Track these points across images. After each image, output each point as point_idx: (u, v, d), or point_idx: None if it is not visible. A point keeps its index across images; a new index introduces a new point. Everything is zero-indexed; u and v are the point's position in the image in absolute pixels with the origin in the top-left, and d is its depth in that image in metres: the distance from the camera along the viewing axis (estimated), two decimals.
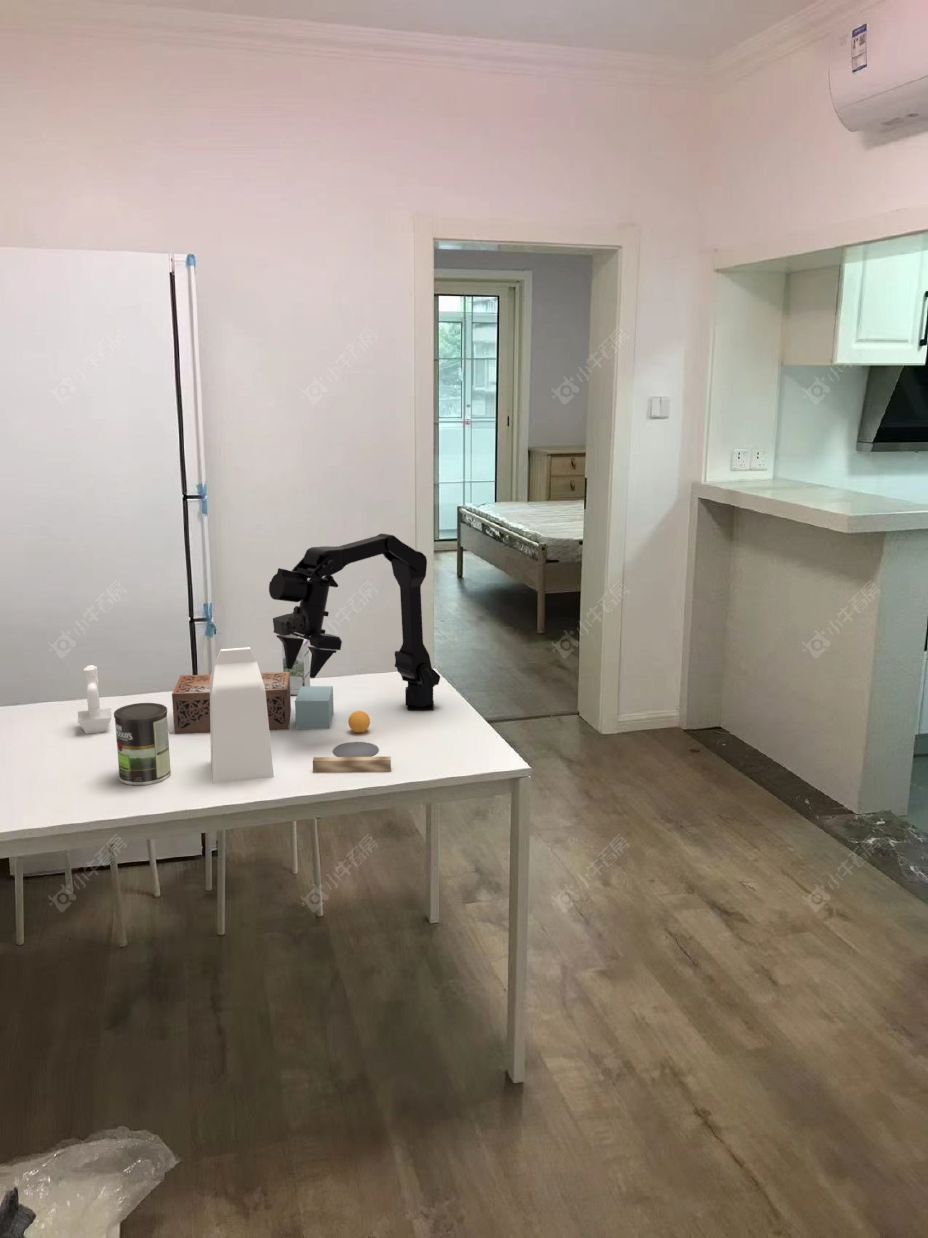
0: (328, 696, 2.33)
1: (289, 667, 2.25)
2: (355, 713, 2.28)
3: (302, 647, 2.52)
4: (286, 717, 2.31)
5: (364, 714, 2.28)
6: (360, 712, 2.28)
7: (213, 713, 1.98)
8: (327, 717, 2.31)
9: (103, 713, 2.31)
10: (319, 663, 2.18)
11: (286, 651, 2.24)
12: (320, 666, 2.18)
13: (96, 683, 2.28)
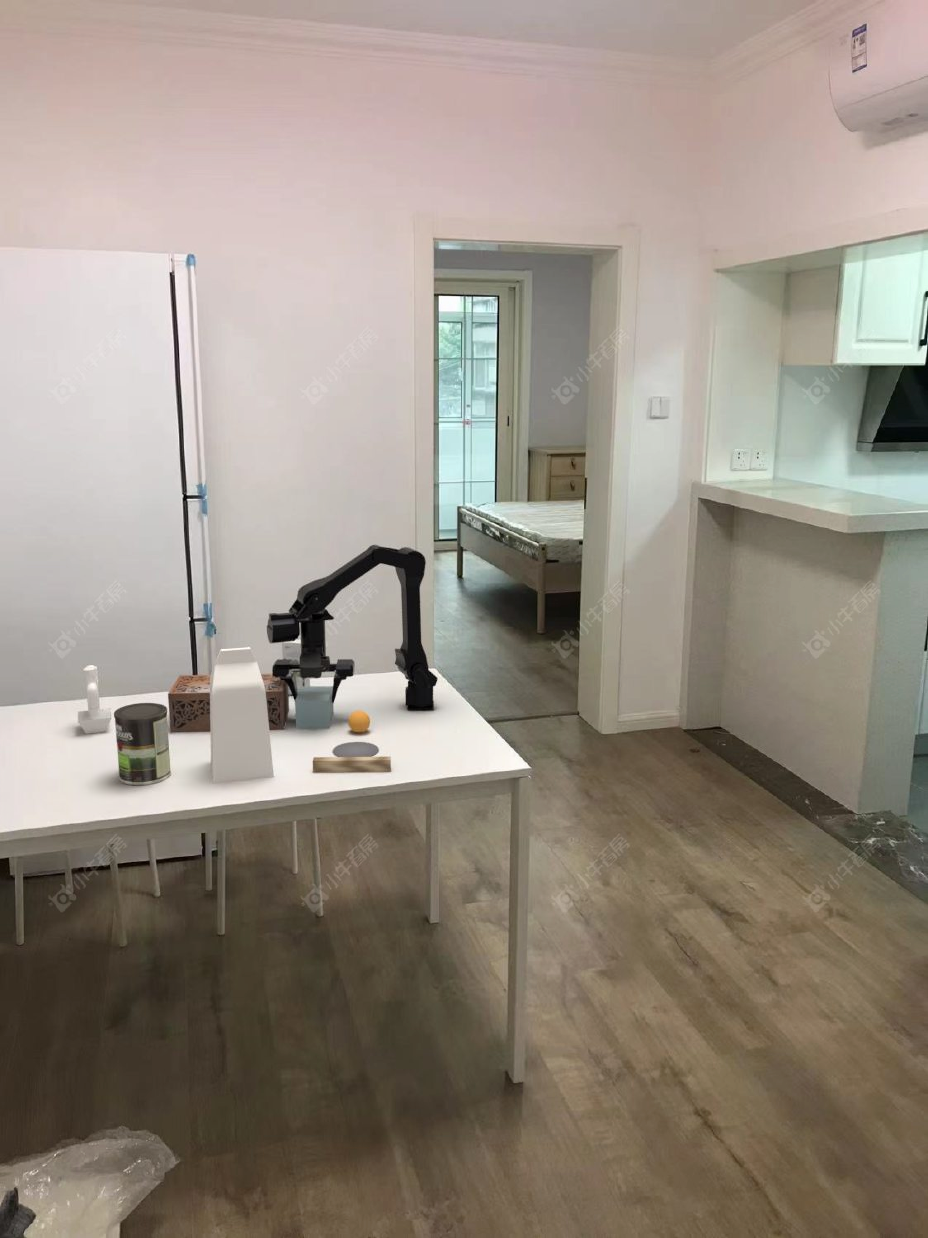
0: (328, 696, 2.33)
1: None
2: (355, 713, 2.28)
3: None
4: (281, 718, 2.31)
5: (364, 714, 2.28)
6: (360, 712, 2.28)
7: (213, 713, 1.98)
8: (327, 717, 2.31)
9: (103, 713, 2.31)
10: None
11: (293, 688, 2.34)
12: None
13: (96, 683, 2.28)
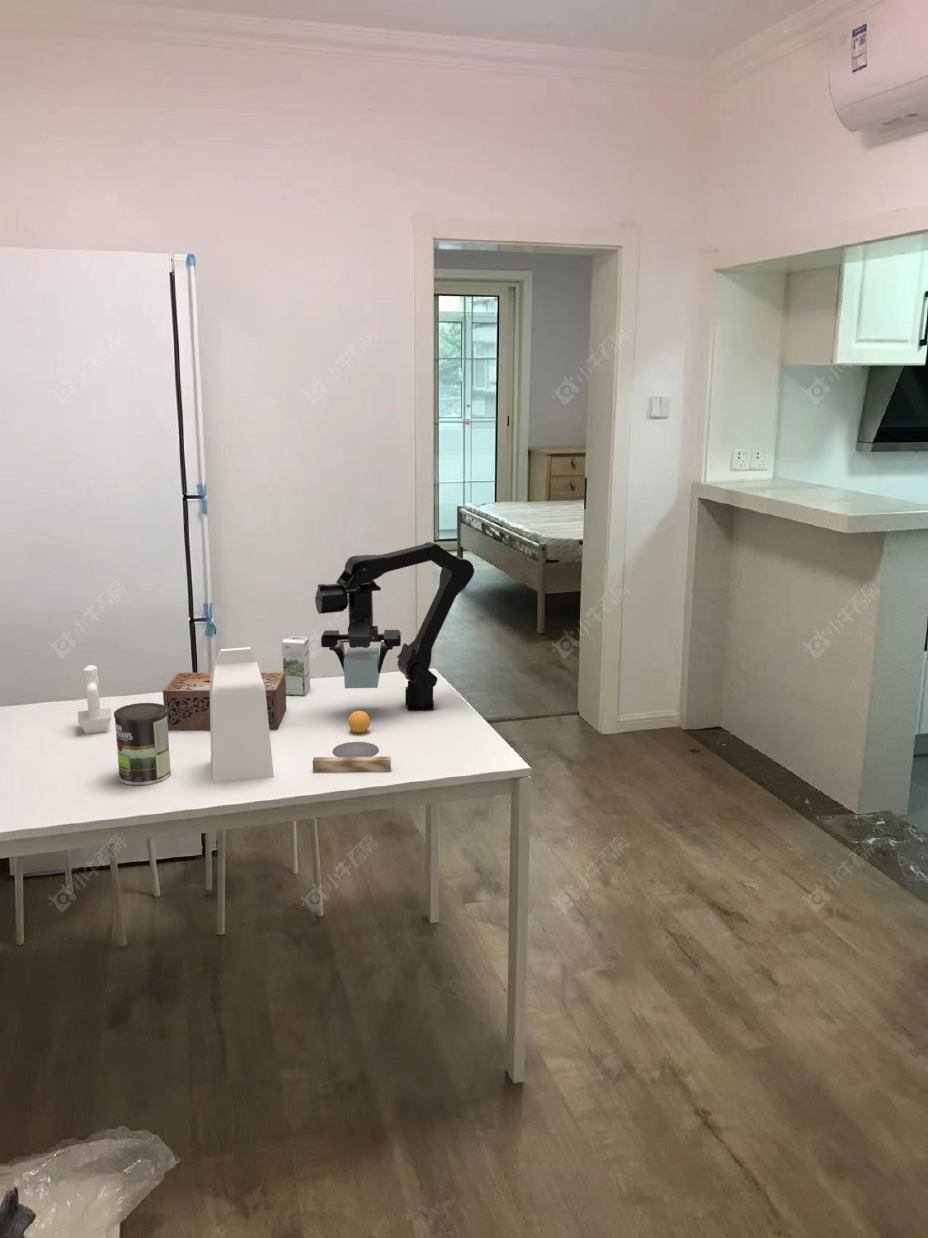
0: (376, 656, 2.36)
1: None
2: (355, 713, 2.28)
3: (302, 647, 2.52)
4: (275, 717, 2.31)
5: (364, 714, 2.28)
6: (360, 712, 2.28)
7: (213, 713, 1.98)
8: (375, 676, 2.34)
9: (103, 713, 2.31)
10: None
11: (342, 659, 2.38)
12: None
13: (96, 683, 2.28)
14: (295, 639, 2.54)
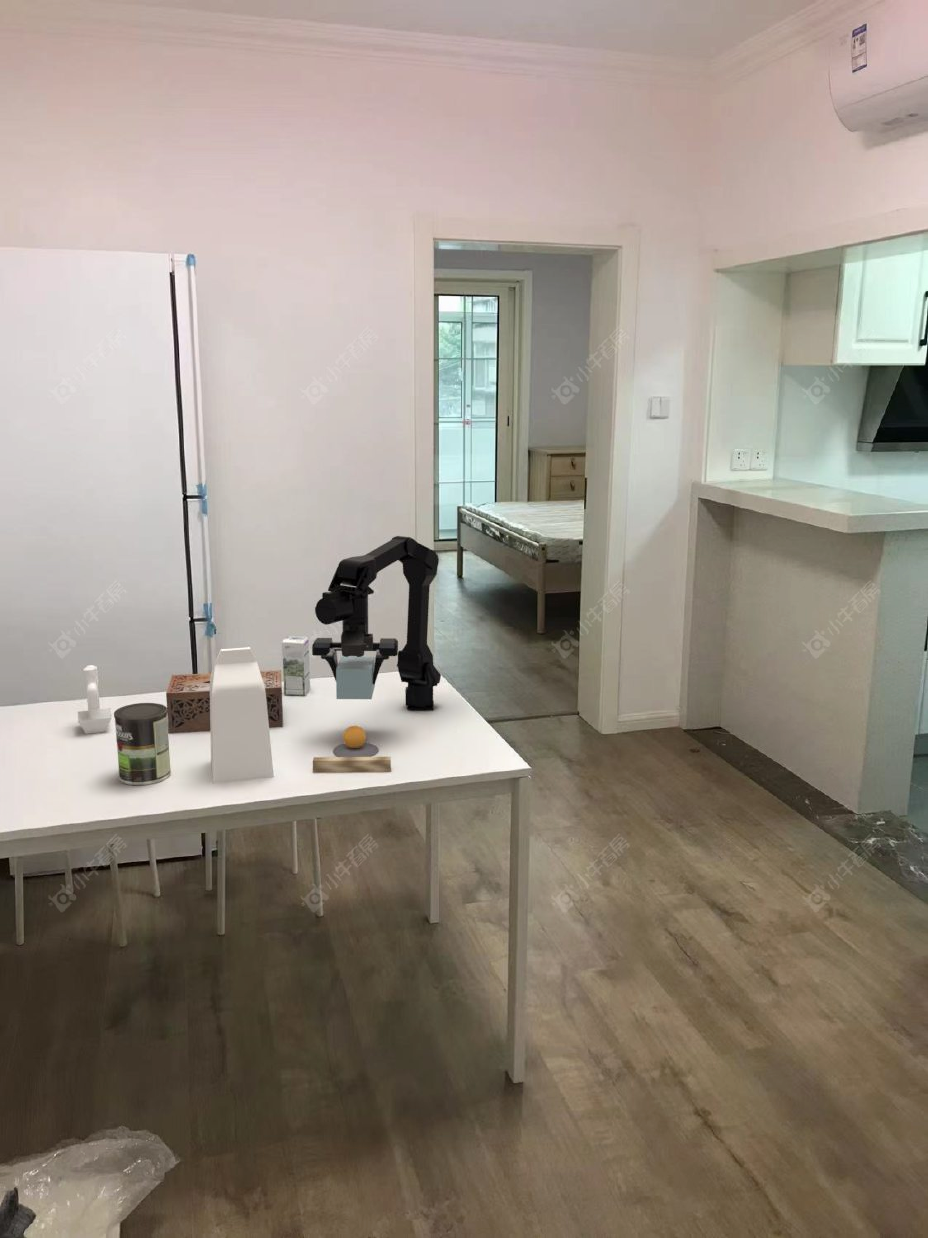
0: (371, 666, 2.21)
1: None
2: None
3: (302, 647, 2.52)
4: (280, 715, 2.32)
5: None
6: None
7: (213, 713, 1.98)
8: (370, 687, 2.19)
9: (103, 713, 2.31)
10: None
11: (334, 668, 2.22)
12: None
13: (96, 683, 2.28)
14: (295, 639, 2.54)
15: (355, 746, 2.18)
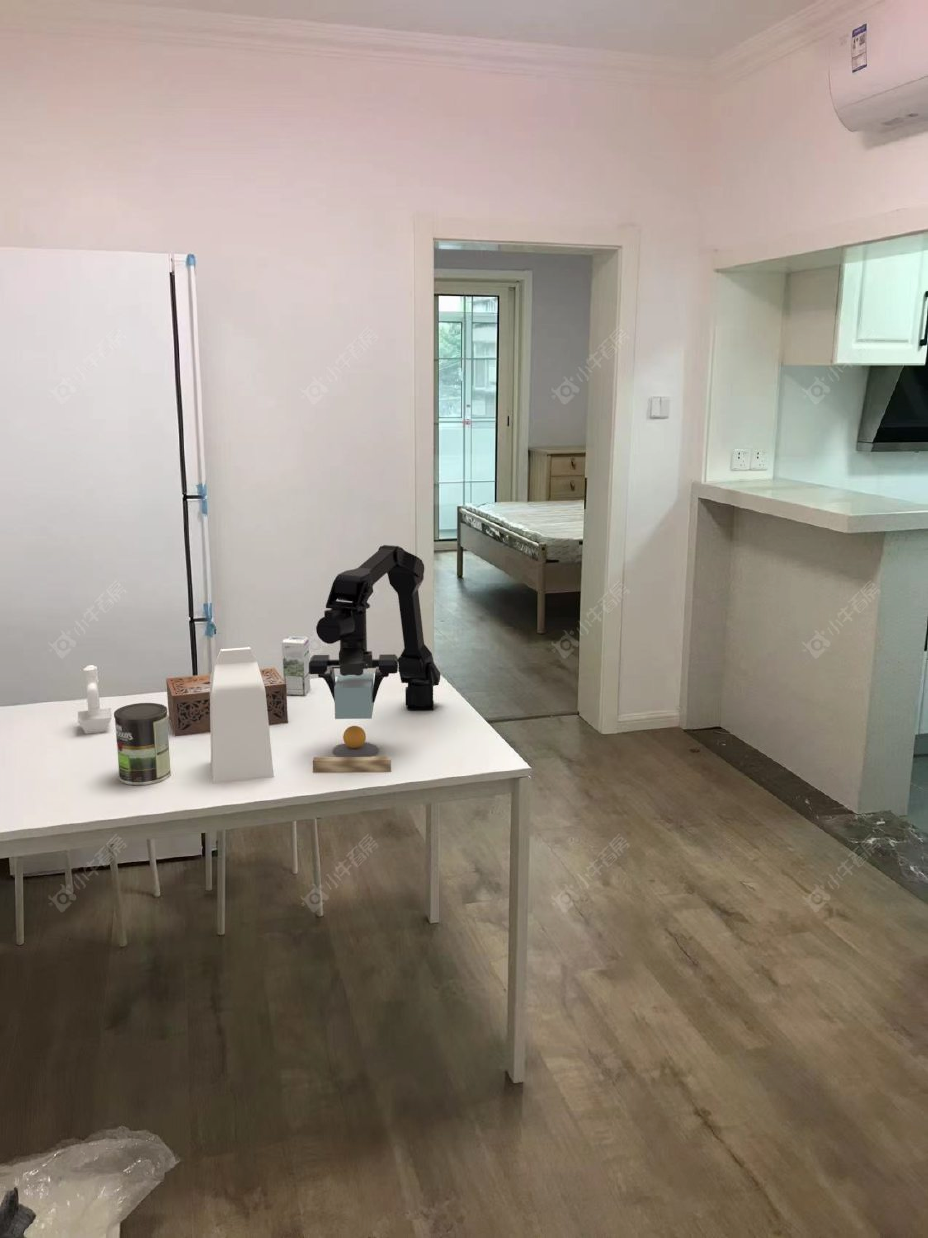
0: (370, 683, 2.13)
1: None
2: None
3: (302, 647, 2.52)
4: (285, 711, 2.35)
5: None
6: None
7: (213, 713, 1.98)
8: (369, 706, 2.11)
9: (103, 713, 2.31)
10: None
11: (332, 687, 2.14)
12: None
13: (96, 683, 2.28)
14: (295, 639, 2.54)
15: (355, 746, 2.18)
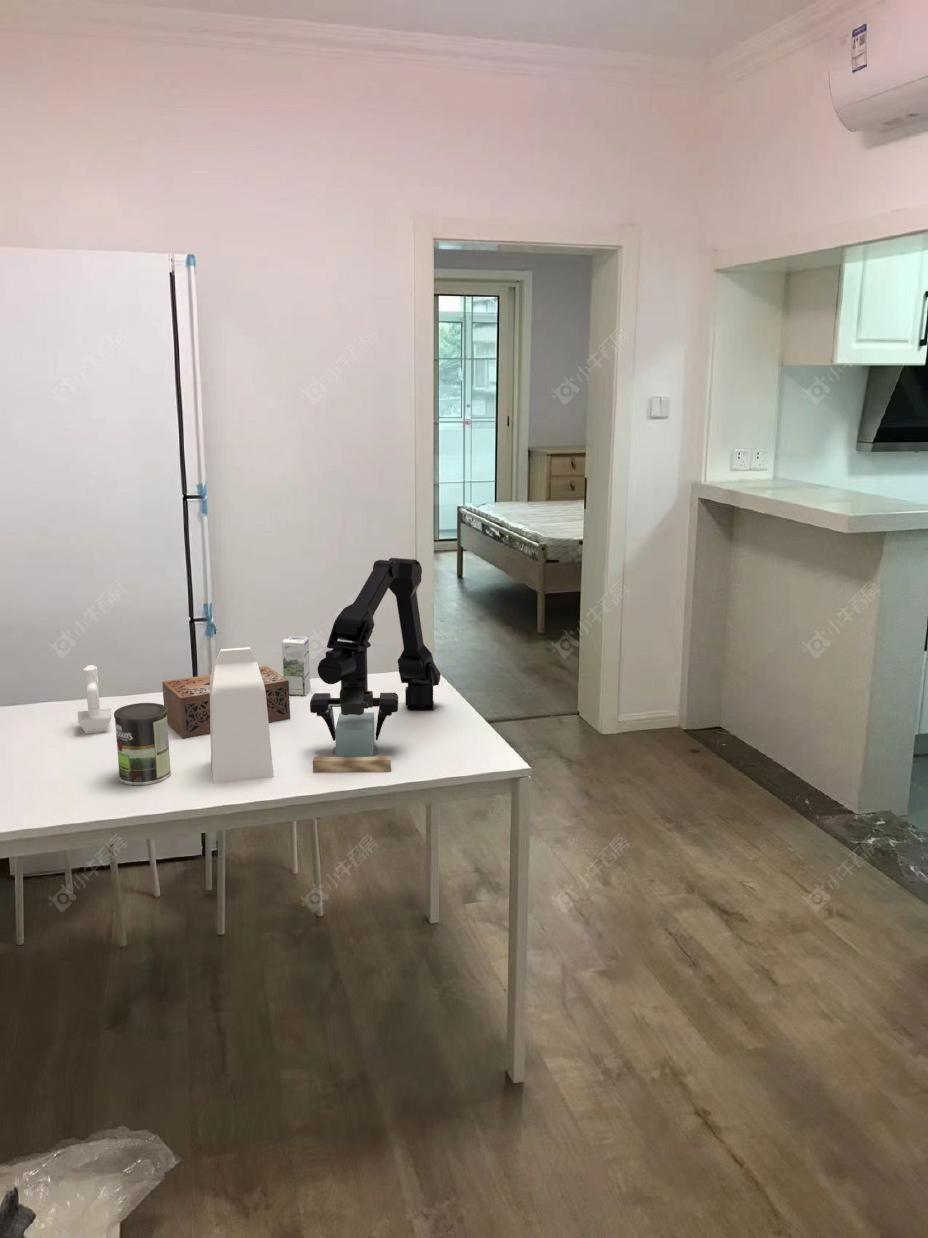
0: (371, 725, 2.15)
1: None
2: None
3: (302, 647, 2.52)
4: (288, 707, 2.38)
5: None
6: None
7: (213, 713, 1.98)
8: (370, 747, 2.13)
9: (103, 713, 2.31)
10: None
11: (331, 725, 2.16)
12: None
13: (96, 683, 2.28)
14: (295, 639, 2.54)
15: None
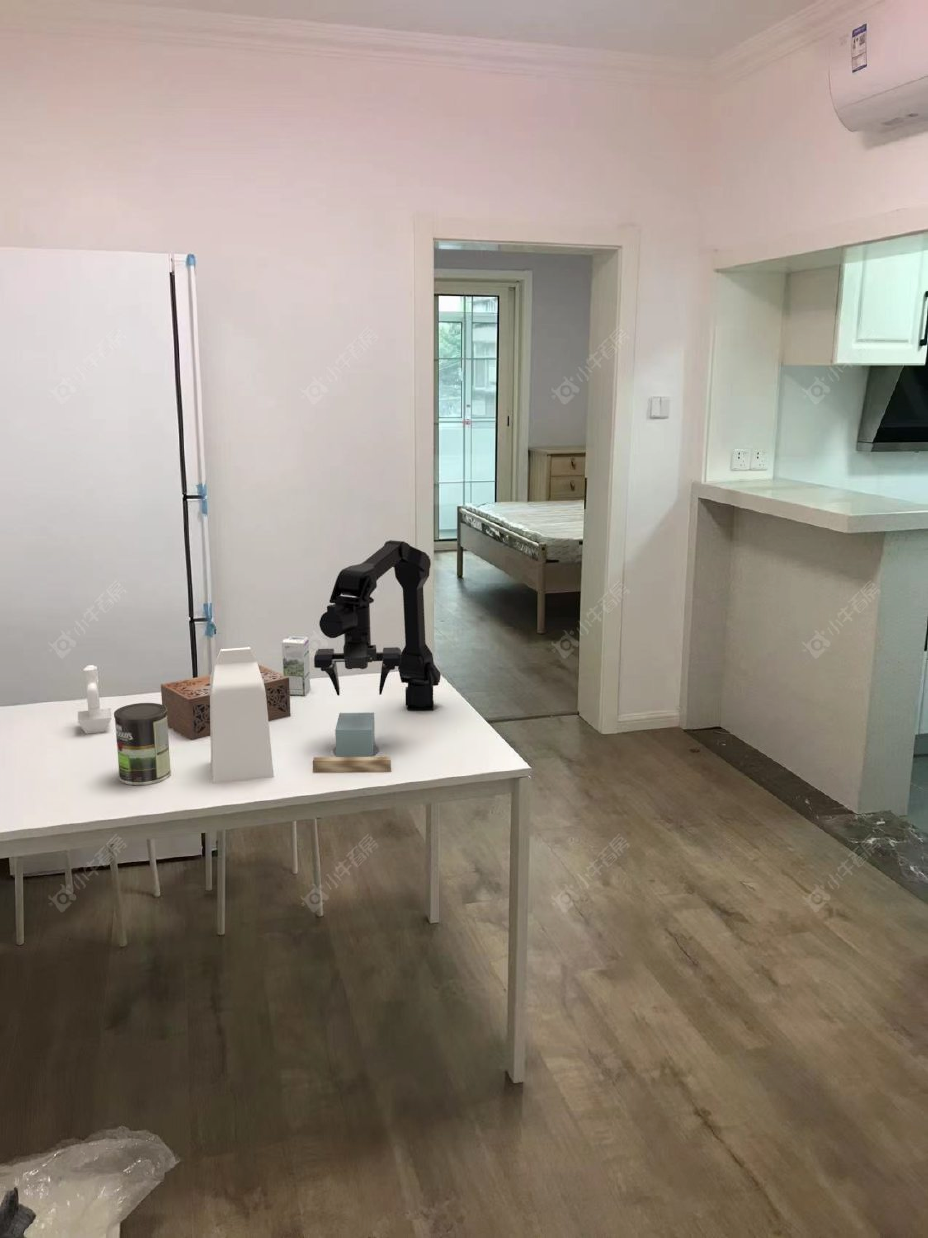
0: (371, 725, 2.15)
1: (339, 693, 2.20)
2: None
3: (302, 647, 2.52)
4: (288, 704, 2.40)
5: None
6: None
7: (213, 713, 1.98)
8: (370, 747, 2.13)
9: (103, 713, 2.31)
10: None
11: (335, 680, 2.18)
12: None
13: (96, 683, 2.28)
14: (295, 639, 2.54)
15: None
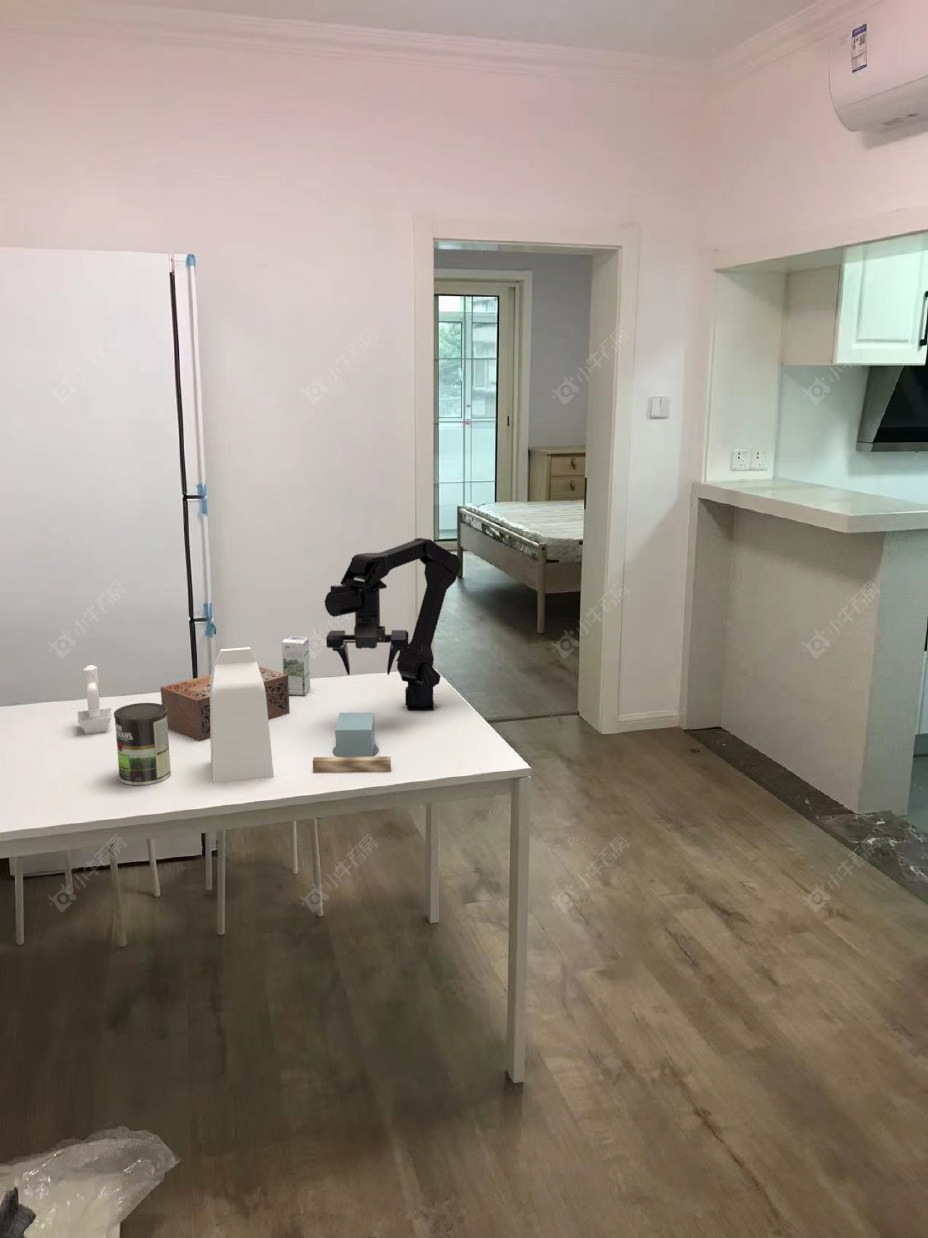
0: (371, 725, 2.15)
1: (349, 673, 2.33)
2: None
3: (302, 647, 2.52)
4: (287, 702, 2.42)
5: None
6: None
7: (213, 713, 1.98)
8: (370, 747, 2.13)
9: (103, 713, 2.31)
10: None
11: (345, 660, 2.31)
12: None
13: (96, 683, 2.28)
14: (295, 639, 2.54)
15: None
